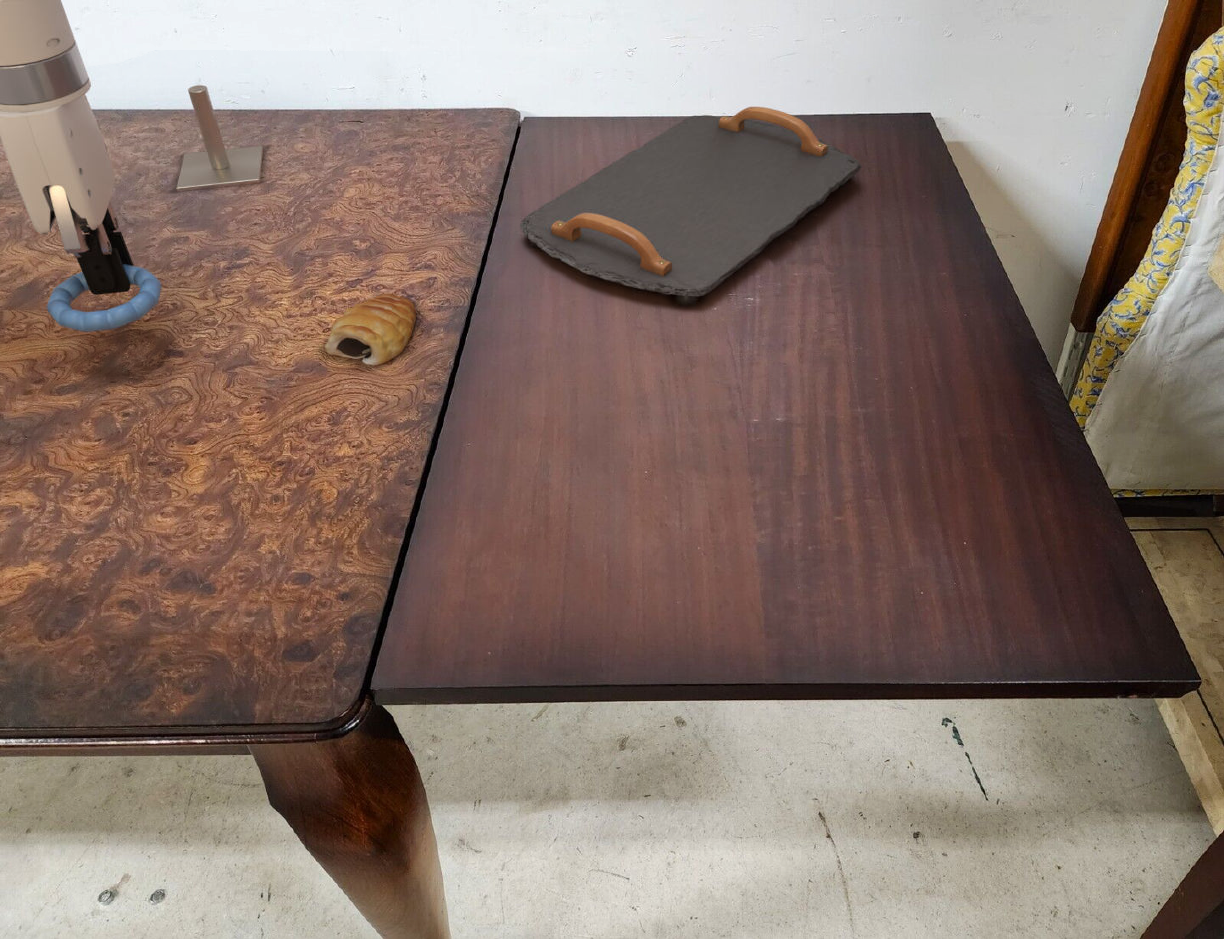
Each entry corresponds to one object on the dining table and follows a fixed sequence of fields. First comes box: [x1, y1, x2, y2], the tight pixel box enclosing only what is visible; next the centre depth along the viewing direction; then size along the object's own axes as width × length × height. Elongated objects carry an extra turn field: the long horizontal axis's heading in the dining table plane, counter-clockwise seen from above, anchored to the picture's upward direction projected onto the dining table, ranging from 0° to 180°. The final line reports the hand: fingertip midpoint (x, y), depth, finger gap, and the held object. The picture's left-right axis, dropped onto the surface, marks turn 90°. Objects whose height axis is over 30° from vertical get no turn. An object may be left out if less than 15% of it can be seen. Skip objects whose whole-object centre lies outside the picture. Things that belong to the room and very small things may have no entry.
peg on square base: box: [176, 84, 264, 193], centre depth 110 cm, size 9×9×10 cm
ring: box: [46, 264, 162, 333], centre depth 83 cm, size 9×9×2 cm
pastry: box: [324, 293, 417, 366], centre depth 88 cm, size 9×7×4 cm
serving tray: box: [519, 106, 862, 307], centre depth 104 cm, size 39×23×6 cm, turn 143°
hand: (113, 281), depth 86 cm, fingers closed on ring, 2 cm apart
